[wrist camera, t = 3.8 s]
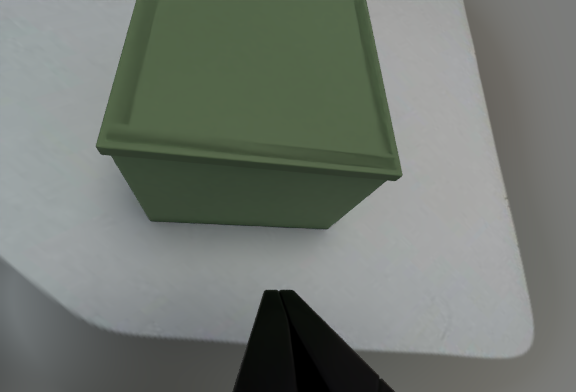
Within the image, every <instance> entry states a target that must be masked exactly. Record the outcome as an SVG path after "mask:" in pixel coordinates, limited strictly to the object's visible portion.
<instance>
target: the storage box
mask: <svg viewBox="0 0 576 392" xmlns="http://www.w3.org/2000/svg"><path fill="white" fill-rule="evenodd" d="M96 148H97V149H98V151H99V152H100V154H102V155H110V156H112V158H113V160H114V161H115V163H116V165H117V166H118V168H119V170H120V171H121V173H122V175H123V176H124V178H125V180H126V181H127V183H128V185H129V186H130V188H131V190H132V191H133V193H134V195H135V196H136V198H137V200H138V201H139V203H140V205H141V206H142V208H143V210H144V211H145V213H146V215H147V216H148V218H149V220H150V221H159V222H181V223H204V224H226V225H248V226H270V227H292V228H315V229H328V228H330V227H331V226H332V225H333V224H334V223H336V222H337V221H338V220H339V219H341V218H342V217H343V216H344V215H345V214H347V213H348V212H349V211H350V210H351V209H353V208H354V207H355V206H356V205H358V204H359V203H360V202H361V201H362V200H364V199H365V198H366V197H367V196H369V195H370V194H371V193H372V192H373V191H375V190H376V189H377V188H378V187H380V186H381V185H382V184H383V183H384V182H386V181H387V180H389V181H396V180H398V179H399V178H400V177H402V170H401V166H400V161H399V156H398V151H397V146H396V141H395V137H394V132H393V127H392V122H391V117H390V113H389V108H388V103H387V98H386V93H385V89H384V84H383V79H382V74H381V69H380V64H379V60H378V55H377V50H376V45H375V40H374V36H373V31H372V26H371V21H370V16H369V12H368V7H367V2H366V0H136V3H135V7H134V10H133V14H132V18H131V21H130V25H129V28H128V32H127V36H126V39H125V43H124V46H123V50H122V54H121V57H120V61H119V64H118V68H117V72H116V75H115V79H114V82H113V86H112V90H111V93H110V97H109V100H108V104H107V108H106V111H105V115H104V118H103V122H102V126H101V129H100V133H99V136H98V140H97V144H96Z"/></svg>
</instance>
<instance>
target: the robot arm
mask: <svg viewBox="0 0 576 392" xmlns="http://www.w3.org/2000/svg"><path fill="white" fill-rule="evenodd" d="M233 392H395V391H394V390H393V389H392V388H391V387H390V386H389V385H388V384H387V383H386V382H385V381H384V380H383V379H379V375H378V374H377V373H376V372H375V371H374V370H373V369H372V368H371V367H370V366H369V365H368V364H366V362H365V361H364V360H363V359H362V358H361V357H360V356H359V355H358V354H357V353H356V352H355V351H354V350H353V349H352V348H351V347H350V346H349V345H348V344H347V343H346V342H345V341H344V340H343V339H342V338H341V337H340V336H339V335H338V334H337V333H336V332H335V331H334V330H333V329H332V328H331V327H330V326H329V325H328V324H327V323H326V322H325V321H324V320H323V319H322V318H321V317H320V316H319V315H318V314H317V313H316V312H315V311H314V310H313V309H312V308H311V307H310V306H309V305H308V304H307V303H306V302H305V301H304V300H303V299H302V298H301V297H300V296H299V295H298V294H297V293H296V292H295V291H293V290H280V291H278V290H265V291H264V293H263V296H262V299H261V302H260V306H259V309H258V312H257V315H256V318H255V322H254V325H253V328H252V331H251V334H250V338H249V341H248V344H247V347H246V350H245V354H244V357H243V360H242V363H241V366H240V369H239V373H238V376H237V379H236V382H235V385H234V389H233Z"/></svg>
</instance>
